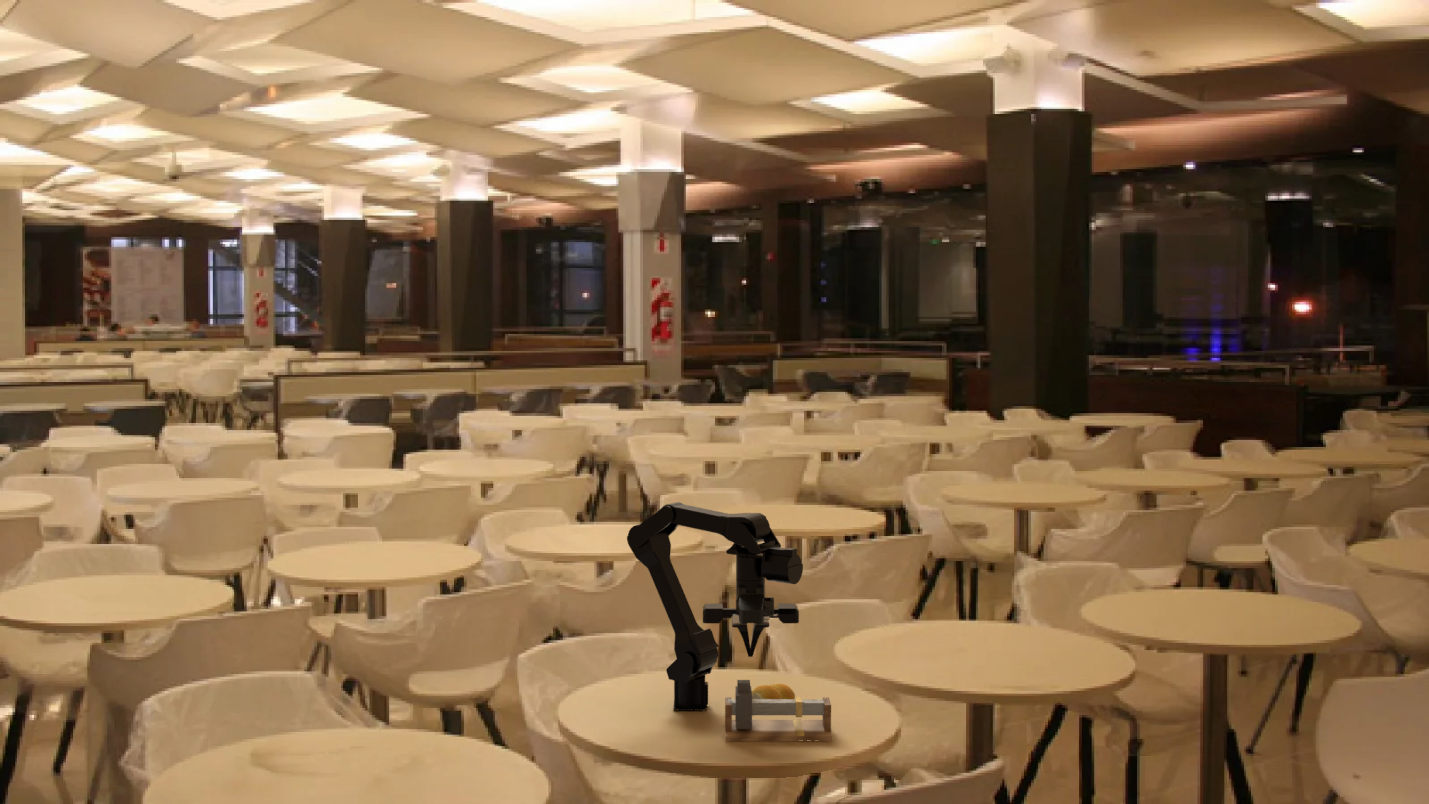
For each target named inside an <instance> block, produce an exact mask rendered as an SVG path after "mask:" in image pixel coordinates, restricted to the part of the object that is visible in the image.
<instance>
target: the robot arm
mask: <svg viewBox="0 0 1429 804" xmlns="http://www.w3.org/2000/svg"><path fill="white" fill-rule="evenodd" d="M679 526H681V527H687V528H691V529H695V530H700V531H705V532H708V533H714V534H718V535H721V536H722V537H723V538H724V539H726V540H727V541H728V542H731V543H733V544H732V545H731V546H730V547H729V548H728V549H727V550H726V551H725V553H726V554H727V555H734V556H735V608H731V607H730V608H728V607H727V608H726V607H725V608H724V605H723V603H704V605H702V623H703V624H720V623H721V622H722V621H724V619H730V620H731V626H732V628H736V629H737V630H738V632H739V634H740V636H741V638H742V641H743V643H744V647H745V650H746V654H747V656H748V658H752V657H753V656H754V653H755V650H756V648H757V644H758V641H759V638H760V636H761V634H762V632H763V631H764V629H765V628H770V621H771V619H778V620H779V621H780V622H781V623H782V624H799V623H800V618H799V617H800V612H799V607H798V605H797V604H796V603H792V602H791V603H781V602H780V603H777V607H776V608H775V598H774V597H766V581H768V582H775V583H781V584H787V585H789V584H790V585H796V584H798V583H799V582H800V580H801V579H802V576H803V571H804V563H802V558H801V556H799V555H798V549H797V548H795V547H789V548H785V547H782V545H781V543H780V542H779V539H778V537H777V536H776V534H775V533H774V531H773V530H772V528H771V526H770V523H769V520H768V519H767V516H766V515H764V514H763V513H761V512H741V513H740V512H739V513H727V512H724V511H723V512H722V511H718V510H713V509H709V508H708V509H707V508H703V507H698V506H693V505H687V504H683V503H682V502H680V501H677V502H672V503H667V504H665V505H663V506H662V507H661V508H660V509H659V510H658V511H656V512H655V513H654V514H652V515H650V516H649V517H648V518H646V519H645V520H643V521H641V523H640V524H635V525H632V527H631V528H630V529H629V531H628V534H627V535H626V541H627V546H629V549H630V550H631V552H632V554H633V555H634V556H635V559H637V560H638V561H639V562H640V563H641V565H643V566H644V567H646V569H647V570H648V572H649V575H650V576H651V579H652V582H653V584H654V587H655V589H656V591H657V594H658V596H659V598H660V601H661V603H662V607H663V608H664V610H665V613H666V615H667V619H668V620H669V622H670V625H671V627H672V629H673V632H674V644H673V645H674V646H673V649H674V654H675V657H676V659H675V660H674V661H673V662H672V663H671V664H670V665H669V666H668V667H667V668H665V669H666V670H665V671H666V675H667V677H668V680H671V681H674V682H673V688H674V689H673V693H674V694H673V697H674V698H673V706H672V707H673V708H672V709H673V711H706V707H707V706H708V705H709V682H708V681H706V675H708V674H709V675H710V674H711V673H712V669H713V667H714V666H715V665H716V664H717V661H718V659H719V650H718V648H719V647H720V645H719V644H718V643H717V642H716V640H715V637H714V634H713V631H712V629H711V628H706V629H705V630H704V629H703V627H701V625H699V624H698V622H697V620H696V618H695V616H694V615H695V614H694V613H693V610H692V609H691V605H690V603H689V601H688V599H687V596H686V594H685V591H684V589H683V587H682V583H680V580H679V578H678V575H677V572H676V570H675V568H674V565H673V563H672V560H671V553H672V552H671V548H672V543H671V540H670V535H672V534H673V533H674V532H675V531H676V530H677V528H678V527H679ZM748 624H752V630H751V638H750V636H749V635H750V634H749V627H748ZM750 639H751V640H750Z"/></svg>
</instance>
